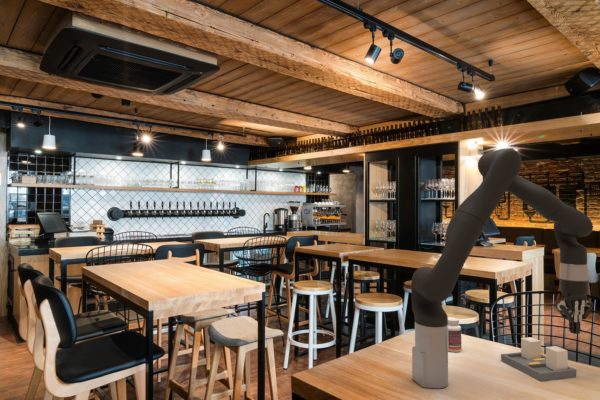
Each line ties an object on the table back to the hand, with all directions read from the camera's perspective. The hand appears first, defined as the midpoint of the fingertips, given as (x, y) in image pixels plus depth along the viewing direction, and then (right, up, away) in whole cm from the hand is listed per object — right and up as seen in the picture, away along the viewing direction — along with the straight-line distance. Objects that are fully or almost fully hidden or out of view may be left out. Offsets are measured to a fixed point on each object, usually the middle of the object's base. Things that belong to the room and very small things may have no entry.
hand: (574, 333), depth 123 cm
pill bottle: (-31, -12, +19) cm, 38 cm away
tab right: (-7, -10, -2) cm, 12 cm away
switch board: (-11, -12, +2) cm, 16 cm away
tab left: (-10, -10, +7) cm, 16 cm away
